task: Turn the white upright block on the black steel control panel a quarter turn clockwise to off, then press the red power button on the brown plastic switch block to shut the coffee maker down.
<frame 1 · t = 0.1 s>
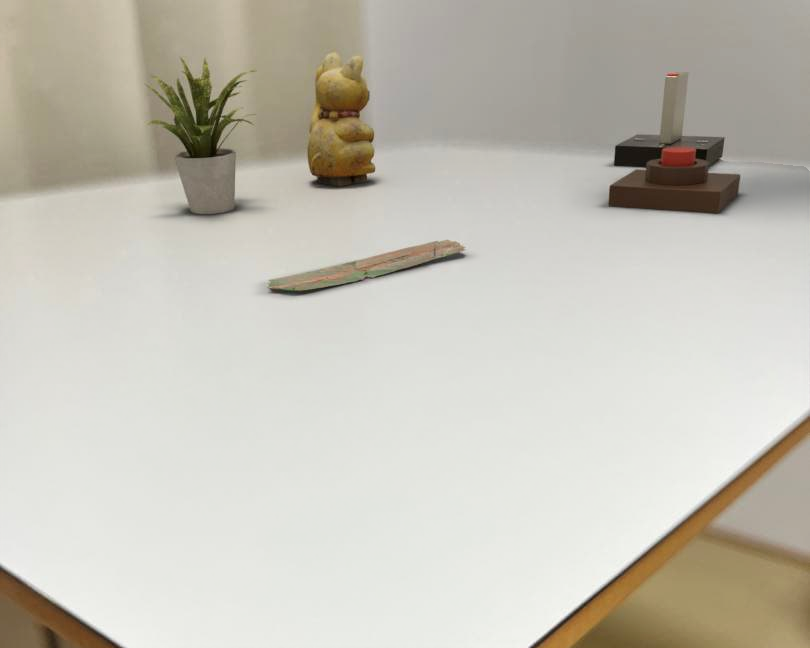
decorative figurine: (340, 184, 122), on the table
house plant: (219, 212, 111), on the table
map: (370, 271, 86), on the table
switch block: (673, 200, 106), on the table
dial panel: (668, 161, 126), on the table
white upright block: (673, 107, 123), point 7 cm above the table, hinge at 90.0°
power button: (678, 157, 103), point 4 cm above the table, slide at 0.1 cm
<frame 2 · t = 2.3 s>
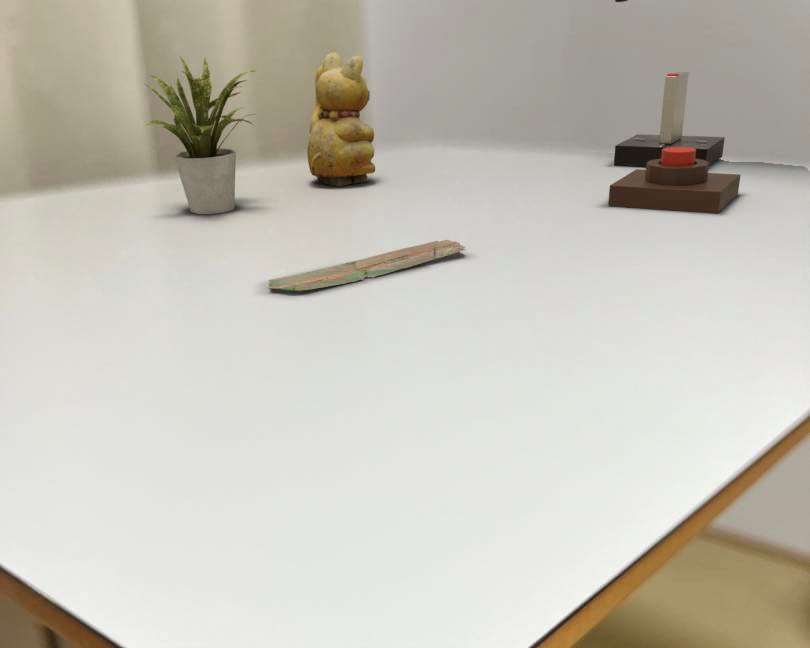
hand: (675, 0, 115), 19 cm above the table, tool pointing down, fingers open, 13 cm apart
nothing on the table moved.
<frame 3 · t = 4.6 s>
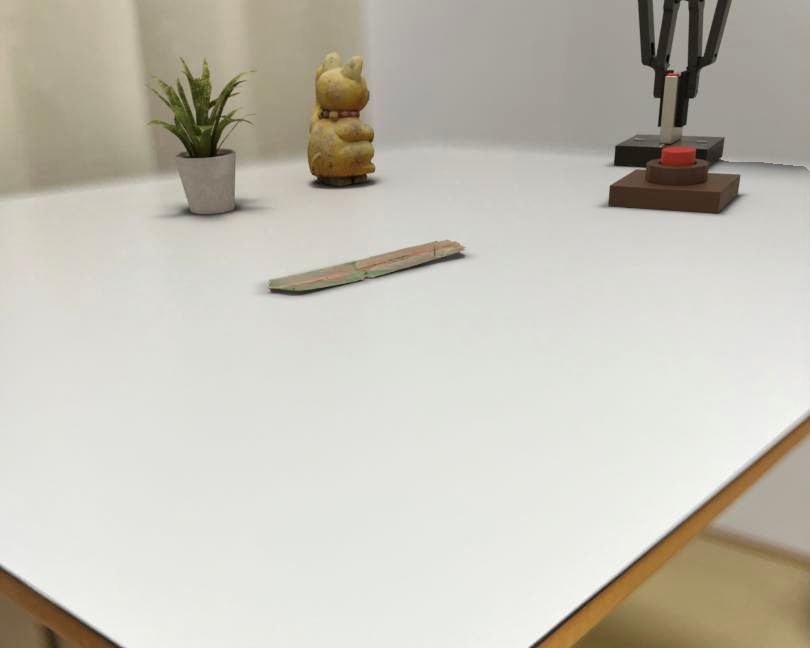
hand: (672, 125, 124), 4 cm above the table, tool pointing down, fingers closed on white upright block, 2 cm apart
white upright block: (673, 107, 123), point 7 cm above the table, hinge at 90.0°, touching gripper
everything else where it was.
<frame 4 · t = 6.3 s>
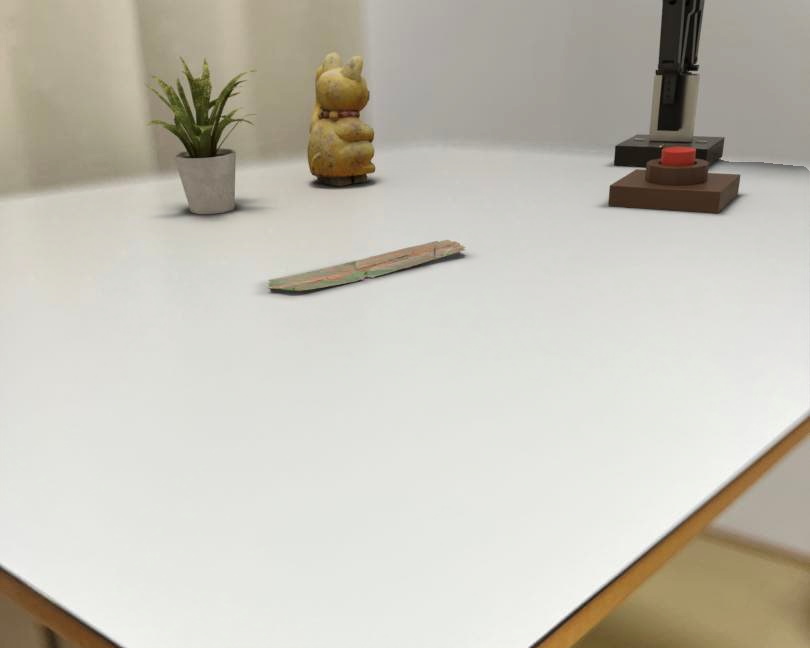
hand: (671, 127, 124), 4 cm above the table, tool pointing down, fingers open, 3 cm apart
white upright block: (673, 107, 123), point 7 cm above the table, hinge at 0.2°
everything else where it was.
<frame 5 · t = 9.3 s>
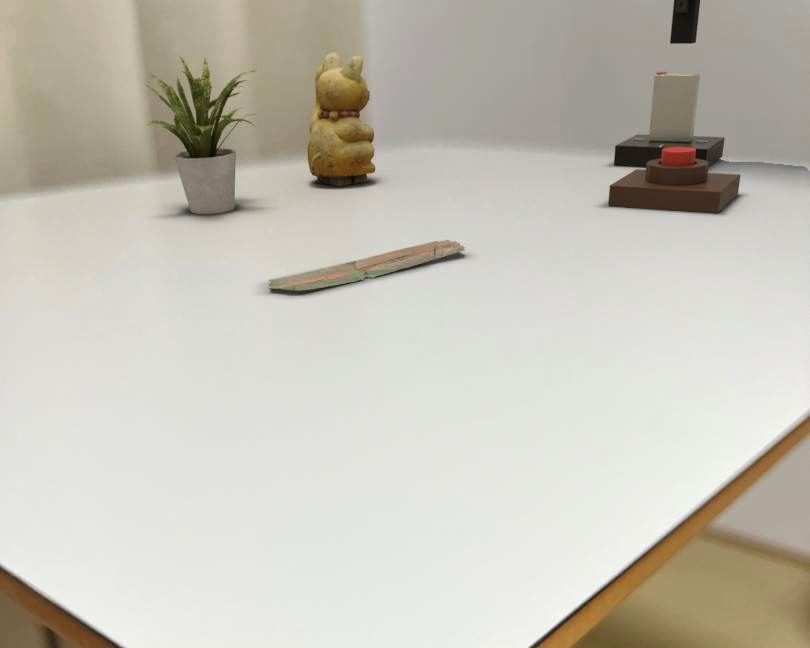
hand: (682, 42, 115), 14 cm above the table, tool pointing down, fingers closed
nothing on the table moved.
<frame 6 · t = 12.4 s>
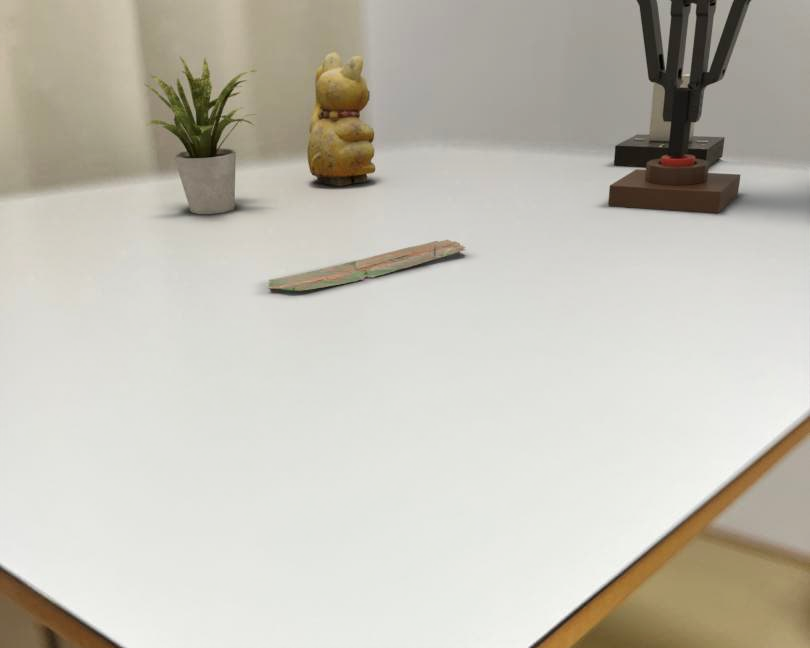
hand: (677, 154, 103), 5 cm above the table, tool pointing down, fingers closed
power button: (677, 165, 104), point 4 cm above the table, slide at -0.6 cm, touching gripper
everything else where it was.
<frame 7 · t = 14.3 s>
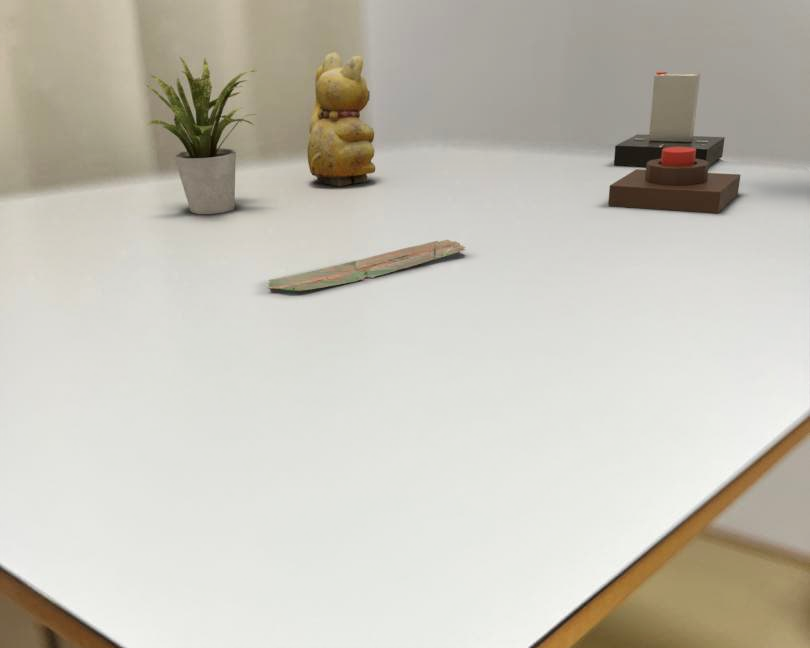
power button: (678, 157, 103), point 4 cm above the table, slide at 0.1 cm
everything else where it was.
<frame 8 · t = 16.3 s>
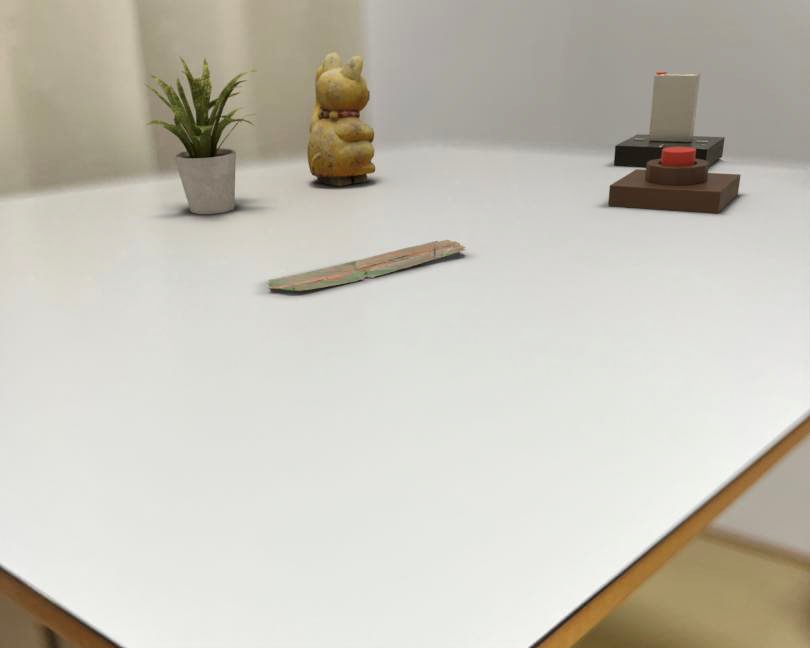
nothing on the table moved.
at the end: white upright block at +0° (first picture: +90°); power button pushed in 1.0 cm at the most during the clip, back to where it started at the end; power button slide at 0.1 cm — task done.
